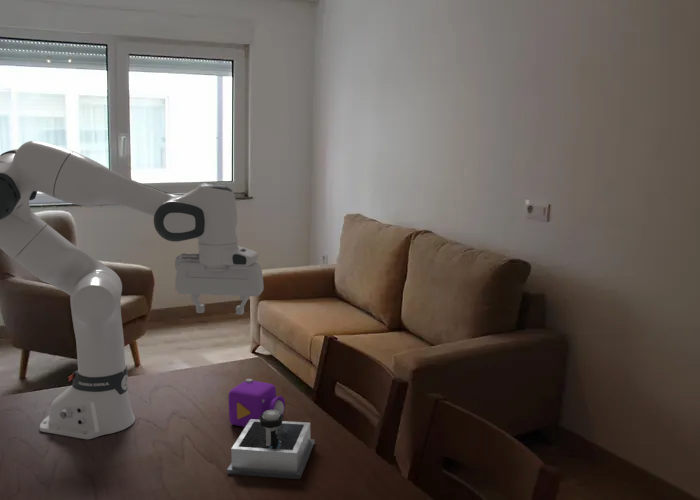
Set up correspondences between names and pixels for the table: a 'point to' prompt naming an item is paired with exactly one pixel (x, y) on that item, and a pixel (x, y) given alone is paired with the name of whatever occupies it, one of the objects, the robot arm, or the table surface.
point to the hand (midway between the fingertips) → (220, 313)
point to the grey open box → (272, 451)
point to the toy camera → (253, 401)
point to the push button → (271, 428)
